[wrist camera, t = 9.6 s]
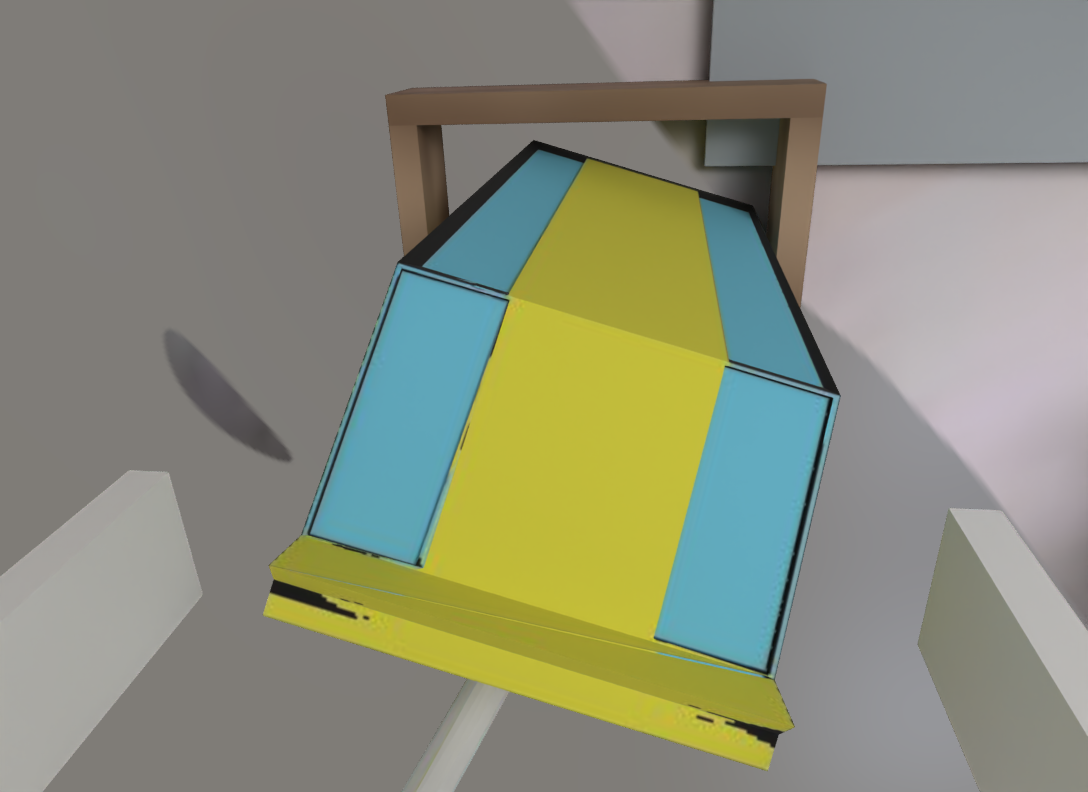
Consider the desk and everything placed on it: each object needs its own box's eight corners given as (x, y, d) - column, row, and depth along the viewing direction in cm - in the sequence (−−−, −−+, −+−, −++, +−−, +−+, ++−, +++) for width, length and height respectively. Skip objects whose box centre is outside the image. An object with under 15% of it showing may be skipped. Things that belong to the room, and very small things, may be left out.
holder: (412, 87, 23) (385, 94, 21) (810, 77, 21) (826, 83, 19) (449, 449, 29) (430, 485, 26) (768, 463, 27) (777, 502, 25)
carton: (470, 360, 27) (180, 864, 11) (524, 137, 23) (209, 397, 7) (672, 421, 27) (682, 1021, 11) (757, 207, 23) (963, 626, 7)
